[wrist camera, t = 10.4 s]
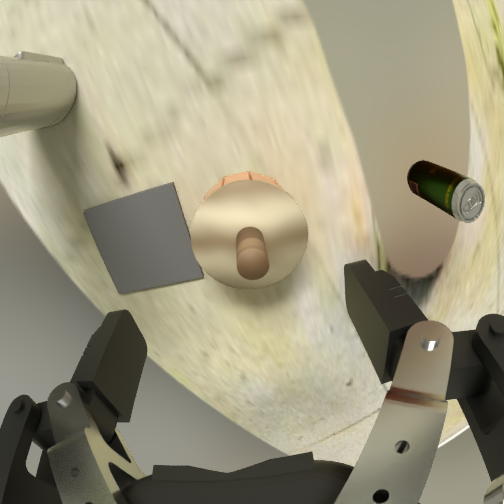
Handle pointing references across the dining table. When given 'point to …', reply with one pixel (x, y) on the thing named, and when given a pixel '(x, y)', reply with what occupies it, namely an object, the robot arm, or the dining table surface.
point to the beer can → (447, 190)
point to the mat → (144, 239)
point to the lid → (249, 234)
